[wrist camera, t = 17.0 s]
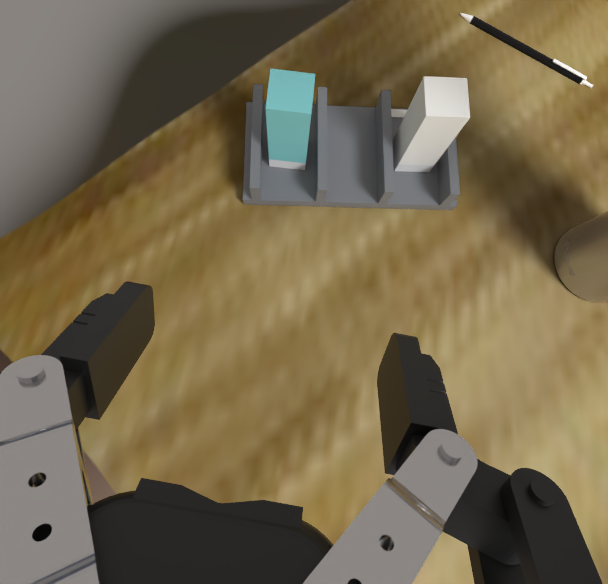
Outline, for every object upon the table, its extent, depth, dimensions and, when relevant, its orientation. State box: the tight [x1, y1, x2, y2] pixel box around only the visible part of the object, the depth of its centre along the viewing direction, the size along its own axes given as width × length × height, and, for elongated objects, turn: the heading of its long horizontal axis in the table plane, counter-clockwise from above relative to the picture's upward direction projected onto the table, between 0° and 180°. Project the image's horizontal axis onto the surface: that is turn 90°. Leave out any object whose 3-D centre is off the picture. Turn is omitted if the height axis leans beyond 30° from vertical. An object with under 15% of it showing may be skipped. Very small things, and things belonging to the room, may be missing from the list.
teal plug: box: [266, 69, 315, 170], centre depth 39 cm, size 4×4×10 cm
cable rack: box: [243, 84, 460, 210], centre depth 44 cm, size 24×12×4 cm, turn 90°
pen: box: [460, 13, 593, 88], centre depth 50 cm, size 1×19×1 cm, turn 59°
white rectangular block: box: [393, 76, 470, 172], centre depth 40 cm, size 4×4×10 cm
